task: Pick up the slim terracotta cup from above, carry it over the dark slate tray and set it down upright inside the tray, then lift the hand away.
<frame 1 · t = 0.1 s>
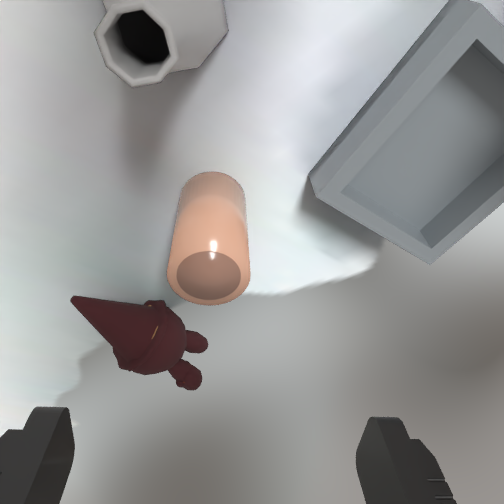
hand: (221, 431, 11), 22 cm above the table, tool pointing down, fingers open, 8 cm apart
flask: (166, 8, 24), on the table
terracotta cup: (212, 201, 32), on the table
icecream: (150, 308, 40), on the table
slate tray: (430, 140, 30), on the table
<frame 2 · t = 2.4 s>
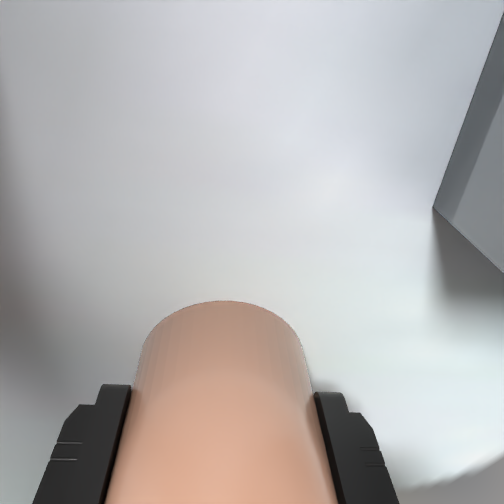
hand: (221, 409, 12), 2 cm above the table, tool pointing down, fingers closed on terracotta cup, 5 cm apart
terracotta cup: (223, 365, 13), on the table, touching gripper
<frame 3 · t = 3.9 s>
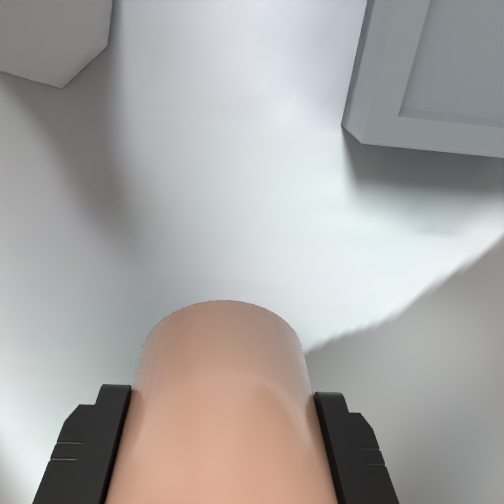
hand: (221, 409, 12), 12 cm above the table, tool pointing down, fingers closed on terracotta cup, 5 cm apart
terracotta cup: (223, 365, 13), point 10 cm above the table, touching gripper
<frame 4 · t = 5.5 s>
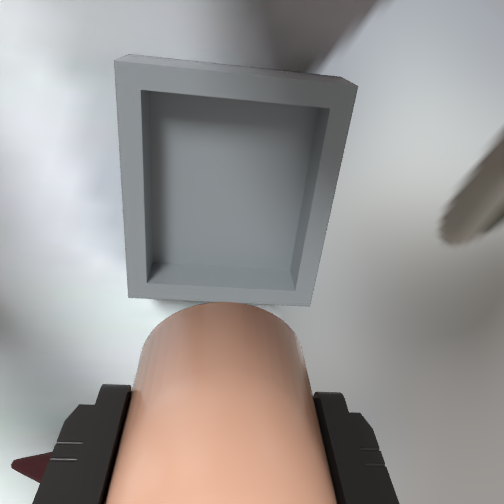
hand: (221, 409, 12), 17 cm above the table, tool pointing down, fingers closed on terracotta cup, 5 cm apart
terracotta cup: (222, 366, 13), point 16 cm above the table, touching gripper
icecream: (114, 438, 39), on the table
slate tray: (228, 183, 26), on the table
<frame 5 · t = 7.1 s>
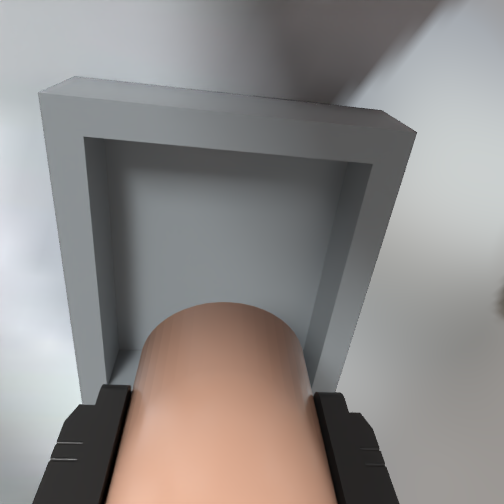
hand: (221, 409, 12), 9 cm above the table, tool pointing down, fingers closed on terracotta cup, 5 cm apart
terracotta cup: (222, 366, 13), point 7 cm above the table, touching gripper
slate tray: (221, 248, 19), on the table
when the fingers open (4 cm above the table, at t = 8.5 s): terracotta cup drops 1 cm, resting on slate tray.
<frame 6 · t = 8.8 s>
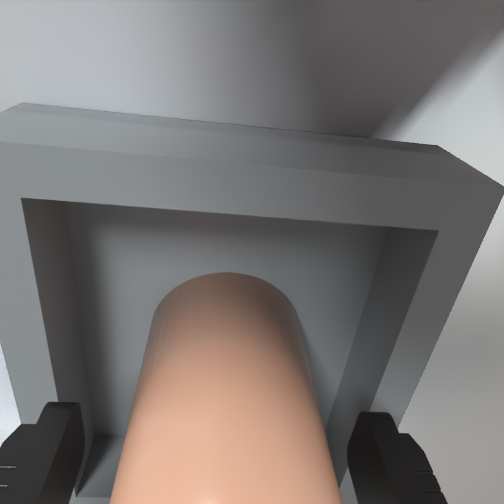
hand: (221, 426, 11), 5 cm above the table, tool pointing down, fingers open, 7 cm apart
terracotta cup: (225, 333, 14), point 1 cm above the table, touching slate tray
slate tray: (222, 315, 15), on the table
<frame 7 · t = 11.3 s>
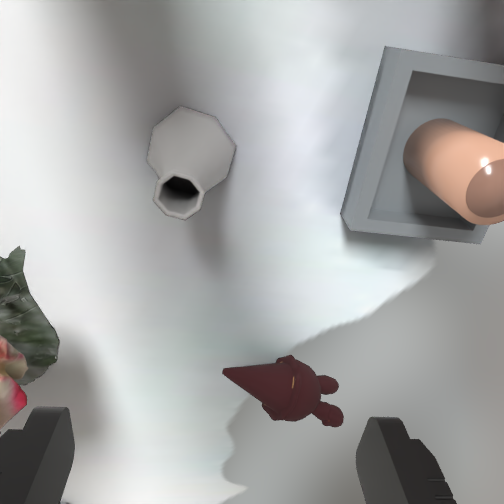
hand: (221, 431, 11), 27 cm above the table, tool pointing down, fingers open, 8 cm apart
flask: (191, 151, 34), on the table
terracotta cup: (433, 150, 34), point 1 cm above the table, touching slate tray
icecream: (281, 364, 47), on the table
slate tray: (427, 146, 35), on the table
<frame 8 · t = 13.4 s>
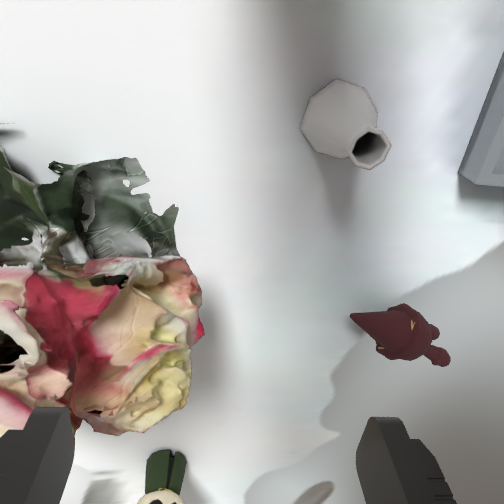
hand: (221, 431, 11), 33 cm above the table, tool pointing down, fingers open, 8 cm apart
rose bouquet: (94, 252, 46), on the table
flask: (337, 119, 40), on the table
icecream: (389, 314, 53), on the table
character mug: (167, 457, 66), on the table
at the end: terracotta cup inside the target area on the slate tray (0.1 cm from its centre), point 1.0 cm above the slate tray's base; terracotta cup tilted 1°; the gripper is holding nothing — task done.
